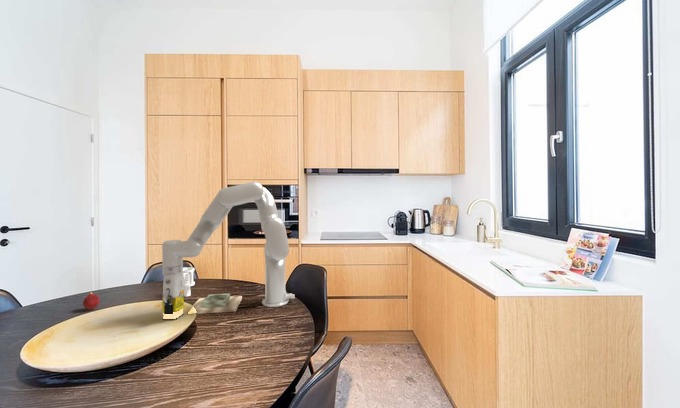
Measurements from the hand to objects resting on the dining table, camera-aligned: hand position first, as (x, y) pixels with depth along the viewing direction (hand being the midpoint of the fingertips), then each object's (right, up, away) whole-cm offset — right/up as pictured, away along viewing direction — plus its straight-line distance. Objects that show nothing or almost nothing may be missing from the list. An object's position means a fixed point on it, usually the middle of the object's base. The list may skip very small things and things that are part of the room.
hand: (173, 309), depth 121 cm
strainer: (-9, -3, +27) cm, 28 cm away
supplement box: (0, -3, 0) cm, 3 cm away
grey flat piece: (+13, -3, +12) cm, 18 cm away
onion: (-42, -3, +8) cm, 43 cm away
